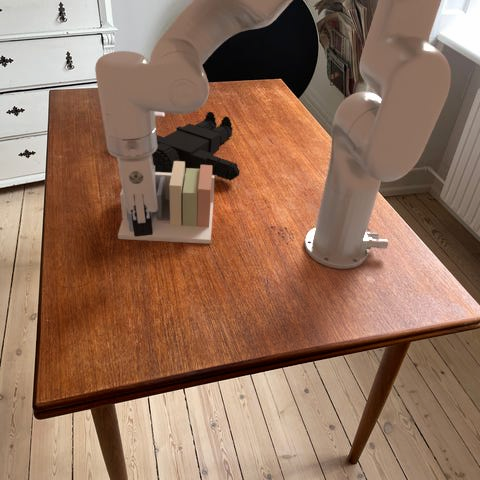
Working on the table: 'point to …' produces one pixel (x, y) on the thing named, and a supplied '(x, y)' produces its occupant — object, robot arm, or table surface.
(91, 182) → the table surface
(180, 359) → the table surface
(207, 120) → the toy
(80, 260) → the table surface
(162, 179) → the shelf
